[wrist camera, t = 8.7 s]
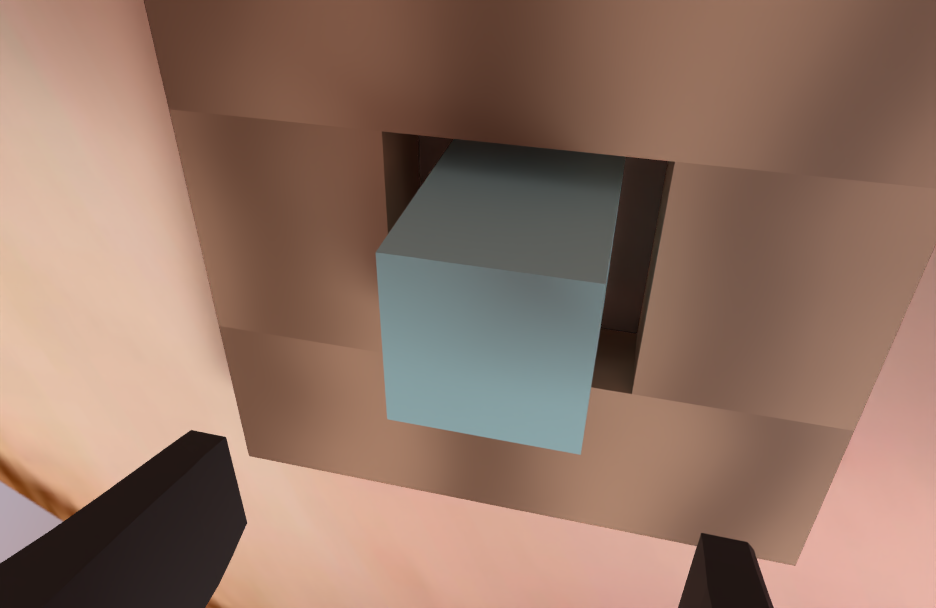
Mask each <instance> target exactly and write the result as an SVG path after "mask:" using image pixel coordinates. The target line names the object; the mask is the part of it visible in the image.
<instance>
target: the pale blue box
mask: <svg viewBox="0 0 936 608" xmlns="http://www.w3.org/2000/svg"><path fill="white" fill-rule="evenodd" d="M625 159H626V157H625V156H615V155H606V154H596V153H586V152H577V151H567V150H557V149H548V148H538V147H528V146H519V145H509V144H499V143H490V142H480V141H470V140H461V139H453V141H452V142H451V144H450V145H449V147H448V148H447V149H446V151H445V152H444V154H443V155H442V157H441V158H440V160H439V161H438V162H437V164H436V165H435V167H434V168H433V170H432V171H431V173H430V174H429V176H428V177H427V178H426V180H425V181H424V183H423V184H422V186H421V187H420V189H419V190H418V191H417V193H416V194H415V196H414V197H413V199H412V200H411V202H410V203H409V205H408V206H407V207H406V209H405V210H404V212H403V213H402V215H401V216H400V218H399V219H398V220H397V222H396V223H395V225H394V226H393V228H392V229H391V231H390V232H389V234H388V235H387V236H386V238H385V239H384V241H383V242H382V244H381V245H380V247H379V248H378V249H377V251H376V266H377V281H378V295H379V309H380V323H381V338H382V352H383V366H384V381H385V395H386V409H387V419H389V420H394V421H399V422H405V423H410V424H416V425H421V426H427V427H432V428H438V429H443V430H448V431H454V432H459V433H465V434H470V435H476V436H481V437H486V438H492V439H497V440H503V441H508V442H514V443H519V444H524V445H530V446H535V447H541V448H546V449H552V450H557V451H562V452H568V453H573V454H579V455H581V450H582V443H583V437H584V430H585V424H586V417H587V411H588V405H589V398H590V392H591V385H592V379H593V372H594V366H595V360H596V353H597V347H598V340H599V334H600V327H601V321H602V314H603V308H604V302H605V295H606V289H607V282H608V275H609V268H610V261H611V254H612V248H613V241H614V234H615V227H616V220H617V213H618V206H619V200H620V193H621V186H622V179H623V172H624V165H625Z"/></svg>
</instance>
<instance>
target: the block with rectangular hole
mask: <svg viewBox="0 0 936 608" xmlns="http://www.w3.org/2000/svg"><path fill="white" fill-rule="evenodd" d="M144 3H145V8H146V12H147V16H148V21H149V25H150V29H151V34H152V38H153V42H154V47H155V51H156V55H157V60H158V64H159V68H160V73H161V77H162V81H163V86H164V90H165V94H166V99H167V103H168V107H169V111H170V116H171V120H172V124H173V129H174V133H175V137H176V142H177V146H178V150H179V155H180V159H181V163H182V168H183V172H184V176H185V181H186V185H187V189H188V194H189V198H190V202H191V207H192V211H193V215H194V220H195V224H196V228H197V233H198V237H199V241H200V246H201V250H202V254H203V259H204V263H205V267H206V272H207V276H208V280H209V285H210V289H211V293H212V298H213V302H214V306H215V310H216V315H217V319H218V323H219V328H220V332H221V336H222V341H223V345H224V349H225V354H226V358H227V362H228V367H229V371H230V375H231V380H232V384H233V388H234V393H235V397H236V401H237V406H238V410H239V414H240V419H241V423H242V427H243V432H244V436H245V440H246V445H247V449H248V453H249V456H252V457H257V458H262V459H267V460H272V461H277V462H282V463H287V464H292V465H297V466H302V467H307V468H312V469H317V470H322V471H327V472H332V473H337V474H342V475H347V476H352V477H357V478H362V479H366V480H371V481H376V482H381V483H386V484H391V485H396V486H401V487H406V488H411V489H416V490H421V491H426V492H431V493H436V494H441V495H446V496H451V497H456V498H461V499H466V500H471V501H476V502H481V503H486V504H491V505H496V506H501V507H506V508H511V509H516V510H520V511H525V512H530V513H535V514H540V515H545V516H550V517H555V518H560V519H565V520H570V521H575V522H580V523H585V524H590V525H595V526H600V527H605V528H610V529H615V530H620V531H625V532H630V533H635V534H640V535H645V536H650V537H655V538H660V539H665V540H669V541H674V542H679V543H684V544H689V545H694V546H697V545H698V542H699V538H700V535H701V533H705V534H710V535H715V536H720V537H725V538H730V539H735V540H740V541H745V542H748V543H749V544H750V545H751V546H752V548H753V549H754V551H755V555H756V558H759V559H764V560H769V561H774V562H779V563H784V564H789V565H794V566H795V565H796V563H797V560H798V558H799V556H800V554H801V551H802V549H803V547H804V544H805V542H806V540H807V538H808V535H809V533H810V531H811V528H812V526H813V524H814V522H815V519H816V517H817V515H818V512H819V510H820V508H821V506H822V503H823V501H824V499H825V496H826V494H827V492H828V490H829V487H830V485H831V483H832V480H833V478H834V476H835V474H836V471H837V469H838V467H839V464H840V462H841V460H842V457H843V455H844V453H845V451H846V448H847V446H848V444H849V441H850V439H851V437H852V435H853V432H854V430H855V428H856V425H857V423H858V421H859V419H860V416H861V414H862V412H863V409H864V407H865V405H866V403H867V400H868V398H869V396H870V393H871V391H872V389H873V387H874V384H875V382H876V380H877V377H878V375H879V373H880V371H881V368H882V366H883V364H884V361H885V359H886V357H887V355H888V352H889V350H890V348H891V345H892V343H893V341H894V338H895V336H896V334H897V332H898V329H899V327H900V325H901V322H902V320H903V318H904V316H905V313H906V311H907V309H908V306H909V304H910V302H911V300H912V297H913V295H914V293H915V290H916V288H917V286H918V284H919V281H920V279H921V277H922V274H923V272H924V270H925V268H926V265H927V263H928V261H929V258H930V256H931V254H932V252H933V249H934V247H935V245H936V0H144ZM418 135H422V136H432V137H441V138H451V139H461V140H470V141H480V142H490V143H499V144H509V145H519V146H528V147H538V148H548V149H557V150H567V151H577V152H586V153H596V154H606V155H615V156H625V157H635V158H644V159H654V160H664V161H668V165H667V170H666V176H665V181H664V187H663V192H662V198H661V203H660V209H659V214H658V220H657V226H656V231H655V237H654V242H653V248H652V253H651V259H650V264H649V270H648V275H647V281H646V287H645V292H644V298H643V303H642V309H641V314H640V320H639V325H638V331H637V334H636V333H629V332H622V331H615V330H609V329H602V328H600V334H599V340H598V347H597V353H596V360H595V366H594V372H593V379H592V385H591V392H590V398H589V405H588V411H587V417H586V424H585V430H584V437H583V443H582V450H581V455H579V454H573V453H568V452H562V451H557V450H552V449H546V448H541V447H535V446H530V445H524V444H519V443H514V442H508V441H503V440H497V439H492V438H486V437H481V436H476V435H470V434H465V433H459V432H454V431H448V430H443V429H438V428H432V427H427V426H421V425H416V424H410V423H405V422H399V421H394V420H389V419H387V409H386V395H385V381H384V366H383V352H382V338H381V323H380V309H379V295H378V281H377V266H376V251H377V249H378V248H379V247H380V245H381V244H382V242H383V241H384V239H385V238H386V236H387V235H388V234H389V232H390V231H391V229H392V228H393V226H394V225H395V223H396V222H397V220H398V219H399V218H400V216H401V215H402V213H403V212H404V210H405V209H406V207H407V206H408V205H409V203H410V202H411V200H412V199H413V197H414V196H415V194H416V193H417V191H418V190H419V189H420V182H419V149H418Z"/></svg>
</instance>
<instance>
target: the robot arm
mask: <svg viewBox="0 0 936 608" xmlns="http://www.w3.org/2000/svg"><path fill="white" fill-rule="evenodd" d="M246 524H247V520H246V516H245V512H244V508H243V504H242V500H241V496H240V492H239V488H238V484H237V480H236V476H235V472H234V468H233V464H232V460H231V456H230V452H229V448H228V443H227V439H226V437H223V436H218V435H213V434H208V433H203V432H198V431H193V430H191V431H189V432H188V433H186V434H185V435H183V436H182V437H181V438H179V439H178V440H176V441H175V442H174V443H172V444H171V445H169V446H168V447H167V448H165V449H164V450H162V451H161V452H160V453H158V454H157V455H156V456H154V457H153V458H151V459H150V460H149V461H147V462H146V463H145V464H143V465H142V466H141V467H139V468H138V469H136V470H135V471H134V472H132V473H131V474H130V475H128V476H127V477H125V478H124V479H123V480H121V481H120V482H118V483H117V484H116V485H114V486H113V487H112V488H110V489H109V490H107V491H106V492H105V493H103V494H102V495H100V496H99V497H98V498H96V499H95V500H93V501H92V502H91V503H89V504H88V505H86V506H85V507H83V508H82V509H81V510H79V511H78V512H76V513H75V514H74V515H72V516H71V517H69V518H68V519H66V520H65V521H64V522H62V523H61V524H59V525H58V526H57V527H55V528H54V529H52V530H51V531H49V532H48V533H46V534H45V535H43V536H42V537H40V538H39V539H37V540H36V541H34V542H32V543H31V544H29V545H28V546H26V547H25V548H23V549H22V550H20V551H19V552H17V553H16V554H14V555H13V556H11V557H10V558H8V559H7V560H5V561H3V562H2V563H0V608H205V607H206V605H207V604H208V602H209V600H210V599H211V597H212V595H213V593H214V592H215V590H216V588H217V587H218V585H219V583H220V581H221V579H222V577H223V575H224V573H225V571H226V568H227V566H228V564H229V562H230V560H231V558H232V556H233V554H234V551H235V549H236V547H237V544H238V542H239V540H240V538H241V535H242V533H243V531H244V529H245V526H246ZM678 608H774V607H773V605H772V602H771V599H770V597H769V594H768V591H767V588H766V585H765V582H764V579H763V576H762V573H761V570H760V567H759V564H758V561H757V558H756V555H755V551H754V549H753V548H752V546H751V545H750V544H749V543H748V542H745V541H740V540H735V539H730V538H725V537H720V536H715V535H710V534H705V533H701V535H700V538H699V542H698V545H697V548H696V551H695V555H694V558H693V561H692V564H691V567H690V571H689V574H688V577H687V580H686V584H685V587H684V590H683V593H682V597H681V600H680V603H679V606H678Z"/></svg>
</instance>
